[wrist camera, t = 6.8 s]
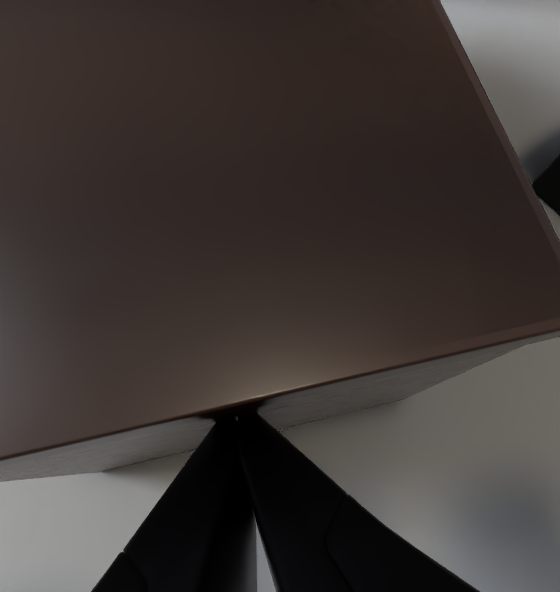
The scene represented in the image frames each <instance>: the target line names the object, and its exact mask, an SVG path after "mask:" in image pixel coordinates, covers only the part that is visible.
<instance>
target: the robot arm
mask: <svg viewBox="0 0 560 592" xmlns="http://www.w3.org/2000/svg"><path fill="white" fill-rule="evenodd" d="M255 519H256V522H257V526H258V530H259V534H260V537H261V541H262V544H263V548H264V551H265V554H266V558H267V561H268V565H269V568H270V572H271V575H272V578H273V582H274V585H275V589H276V592H480V591H478V590H477V589H475V588H474V587H472V586H471V585H469V584H468V583H467V582H465V581H464V580H462V579H461V578H459V577H458V576H456V575H455V574H453V573H452V572H451V571H449V570H448V569H446V568H445V567H443V566H442V565H440V564H439V563H437V562H436V561H434V560H433V559H432V558H430V557H429V556H427V555H426V554H424V553H423V552H421V551H420V550H418V549H417V548H416V547H414V546H413V545H411V544H410V543H409V542H407V541H406V540H404V539H403V538H402V537H400V536H399V535H398V534H396V533H395V532H393V531H392V530H391V529H389V528H388V527H386V526H385V525H384V524H383V523H382V522H380V521H379V520H378V519H377V518H376V517H374V516H373V515H372V514H371V513H370V512H368V511H367V510H366V509H365V508H364V507H362V506H361V505H360V504H359V503H358V502H357V501H356V500H355V499H354V498H353V497H351V496H350V495H347V493H346V492H345V491H344V490H343V489H342V488H340V487H339V486H338V485H337V484H336V483H335V482H334V481H333V480H332V479H330V478H329V477H328V476H327V475H326V474H325V473H324V472H323V471H322V470H320V469H319V468H318V467H317V466H316V465H315V464H314V463H313V462H312V461H310V460H309V459H308V458H307V457H306V456H305V455H304V454H303V453H302V452H300V451H299V450H298V449H297V448H296V447H295V446H294V445H293V444H291V443H290V442H289V441H288V440H287V439H286V438H285V437H284V436H283V435H281V434H280V433H279V432H278V431H277V430H276V429H275V428H274V427H273V426H271V425H270V424H269V423H268V422H267V421H266V420H265V419H264V418H263V417H261V416H260V415H259V414H258V413H254V414H250V415H245V416H241V417H238V419H236V418H233V419H228V420H224V421H220V422H216V423H215V424H214V425H213V427H212V428H211V429H210V431H209V432H208V434H207V435H206V436H205V438H204V439H203V440H202V442H201V443H200V445H199V446H198V447H197V449H196V450H195V451H194V453H193V454H192V456H191V457H190V458H189V460H188V461H187V463H186V464H185V465H184V467H183V468H182V469H181V471H180V472H179V474H178V475H177V476H176V478H175V479H174V480H173V482H172V483H171V485H170V486H169V487H168V489H167V490H166V491H165V493H164V494H163V496H162V497H161V498H160V500H159V501H158V502H157V504H156V505H155V507H154V508H153V509H152V511H151V512H150V513H149V515H148V516H147V518H146V519H145V520H144V522H143V523H142V525H141V526H140V527H139V529H138V530H137V531H136V533H135V534H134V536H133V537H132V538H131V540H130V541H129V542H128V544H127V545H126V547H125V548H124V550H123V551H124V552H121V553H120V554H119V555H118V556H117V558H116V559H115V560H114V562H113V563H112V565H111V566H110V567H109V569H108V570H107V571H106V573H105V574H104V575H103V577H102V578H101V579H100V581H99V582H98V583H97V585H96V586H95V587H94V588H93V590H92V591H91V592H257V555H256V522H255Z"/></svg>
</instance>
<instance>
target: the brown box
mask: <svg viewBox="0 0 560 592" xmlns="http://www.w3.org/2000/svg"><path fill="white" fill-rule="evenodd" d="M556 337H560V241H559V239H558V237H557V235H556V233H555V231H554V229H553V227H552V225H551V223H550V221H549V219H548V217H547V215H546V213H545V211H544V209H543V207H542V205H541V203H540V201H539V199H538V197H537V195H536V193H535V191H534V189H533V187H532V185H531V183H530V181H529V179H528V177H527V175H526V173H525V171H524V169H523V167H522V165H521V163H520V161H519V159H518V157H517V155H516V153H515V151H514V149H513V147H512V145H511V143H510V141H509V139H508V137H507V135H506V133H505V131H504V129H503V127H502V125H501V123H500V121H499V119H498V117H497V115H496V113H495V111H494V109H493V107H492V105H491V103H490V101H489V99H488V97H487V95H486V92H485V90H484V88H483V86H482V84H481V82H480V80H479V78H478V76H477V74H476V72H475V70H474V68H473V66H472V64H471V62H470V60H469V58H468V56H467V54H466V52H465V50H464V48H463V46H462V44H461V42H460V40H459V38H458V36H457V34H456V32H455V30H454V28H453V26H452V24H451V22H450V20H449V18H448V16H447V14H446V12H445V10H444V8H443V6H442V4H441V2H440V0H0V482H2V481H12V480H22V479H33V478H43V477H54V476H64V475H75V474H85V473H96V472H101V471H105V470H109V469H113V468H118V467H122V466H126V465H130V464H134V463H138V462H143V461H147V460H151V459H155V458H159V457H164V456H168V455H172V454H176V453H180V452H184V451H189V450H193V449H197V447H198V446H199V445H200V443H201V442H202V440H203V439H204V438H205V436H206V435H207V434H208V432H209V431H210V429H211V428H212V427H213V425H214V424H215V423H216V422H220V421H224V420H228V419H233V418H236V419H238V417H241V416H245V415H250V414H254V413H258V414H259V415H260V416H261V417H263V418H264V419H265V420H266V421H267V422H268V423H269V424H270V425H271V426H273V427H274V428H275V429H276V430H277V429H281V428H285V427H289V426H293V425H298V424H302V423H306V422H310V421H314V420H318V419H323V418H327V417H331V416H335V415H339V414H344V413H348V412H352V411H356V410H360V409H365V408H369V407H373V406H377V405H381V404H385V403H390V402H394V401H398V400H402V399H405V398H407V397H409V396H411V395H414V394H416V393H418V392H420V391H423V390H425V389H427V388H429V387H432V386H434V385H436V384H438V383H441V382H443V381H445V380H447V379H450V378H452V377H454V376H456V375H459V374H461V373H463V372H465V371H467V370H470V369H472V368H474V367H476V366H479V365H481V364H483V363H485V362H488V361H490V360H492V359H494V358H497V357H499V356H501V355H503V354H506V353H508V352H510V351H512V350H515V349H517V348H519V347H521V346H524V345H526V344H531V343H535V342H539V341H543V340H548V339H552V338H556Z"/></svg>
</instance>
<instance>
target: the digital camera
mask: <svg viewBox="0 0 560 592" xmlns="http://www.w3.org/2000/svg"><path fill="white" fill-rule="evenodd" d="M532 187H533V189H534V191H535V192H536V193H538V194H539V195H540V196H541V197H542V198H543V199H544V200H545V201H546V202H548V203H549V204H550V205H551V206H552V207H553V208H554V209H555V210H556V211H558V212H559V213H560V155H559V156H558V157H557V158H556V159H555V160H554V161H553V162H552V163H551V164H550V165H549V167H548V168H547V169H546V170H545V171H544V172H543V173H542V174H541V175H540V176H539V177H538V178H537V179H536V180H535V181H534V183H533V185H532Z"/></svg>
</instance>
